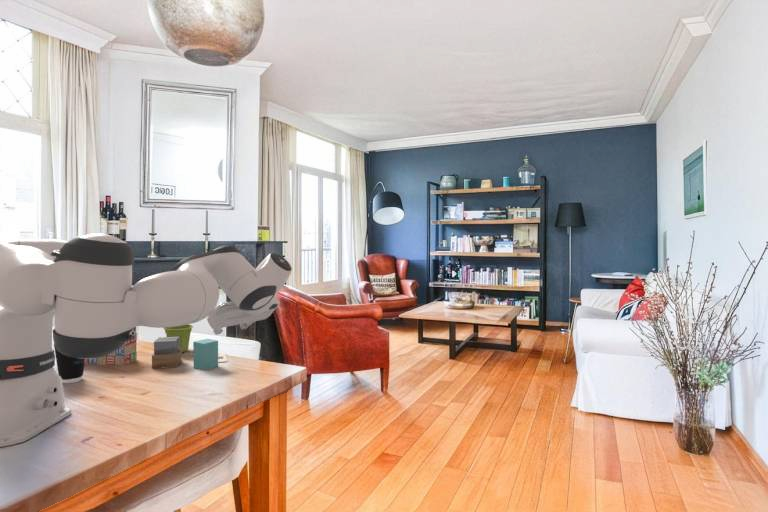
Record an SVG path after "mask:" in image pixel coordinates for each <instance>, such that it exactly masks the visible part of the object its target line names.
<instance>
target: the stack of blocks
mask: <svg viewBox="0 0 768 512" xmlns="http://www.w3.org/2000/svg"><path fill="white" fill-rule="evenodd" d="M133 330H134V331H135V332H136V335H135V337H134V338H133V339H131V340H129V341H126V342H125V343H124V345H123V346H122V347H120V348H119V349H117V350H116V351H114V352H113V353H111V354H109V355H106V356H103V357H97V358H91V359H85V361H84V365H102V366H103V365H105V366H106V365H107V366H126V364H127V365H128V363H129V364H131V363H133V362H135V360H136V361H137V356H138V355H137V352H138V351H137V343H138V342H137V336H138V333H137V327H134V328H133ZM130 362H131V363H130Z"/></svg>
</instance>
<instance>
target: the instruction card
mask: <svg viewBox="0 0 768 512" xmlns="http://www.w3.org/2000/svg"><path fill="white" fill-rule="evenodd" d="M227 362H228V358H227V356H226V353H218V364H219V363H227Z"/></svg>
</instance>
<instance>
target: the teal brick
mask: <svg viewBox="0 0 768 512" xmlns="http://www.w3.org/2000/svg"><path fill="white" fill-rule="evenodd" d="M192 347H193V368H194V369H198V370H201V371H206V369H207V370H210V368H211V369H214V368H218V367H219V363H218V354H219V340H216V339H211V338H205V339H200V340H196V341H195V340H194V341H193V345H192Z"/></svg>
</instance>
